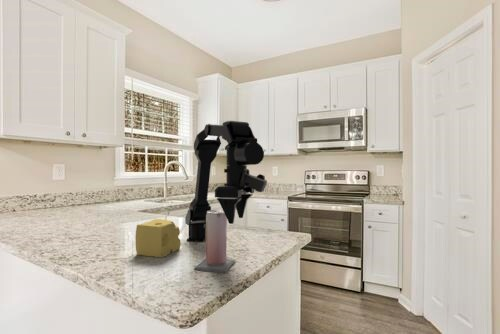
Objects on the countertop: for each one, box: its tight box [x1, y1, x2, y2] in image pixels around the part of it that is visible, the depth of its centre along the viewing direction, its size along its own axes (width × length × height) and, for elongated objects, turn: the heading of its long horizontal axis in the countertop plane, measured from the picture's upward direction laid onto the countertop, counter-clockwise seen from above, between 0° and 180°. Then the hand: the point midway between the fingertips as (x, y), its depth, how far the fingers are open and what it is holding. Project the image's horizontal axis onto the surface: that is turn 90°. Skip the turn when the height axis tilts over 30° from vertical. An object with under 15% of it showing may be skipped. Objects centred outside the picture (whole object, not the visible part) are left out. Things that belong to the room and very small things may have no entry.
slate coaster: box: [194, 258, 236, 274], centre depth 80 cm, size 9×9×1 cm
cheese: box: [135, 218, 181, 258], centre depth 92 cm, size 10×11×10 cm
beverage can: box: [205, 209, 228, 266], centre depth 80 cm, size 6×6×15 cm
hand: (236, 220), depth 78 cm, fingers open, 9 cm apart
